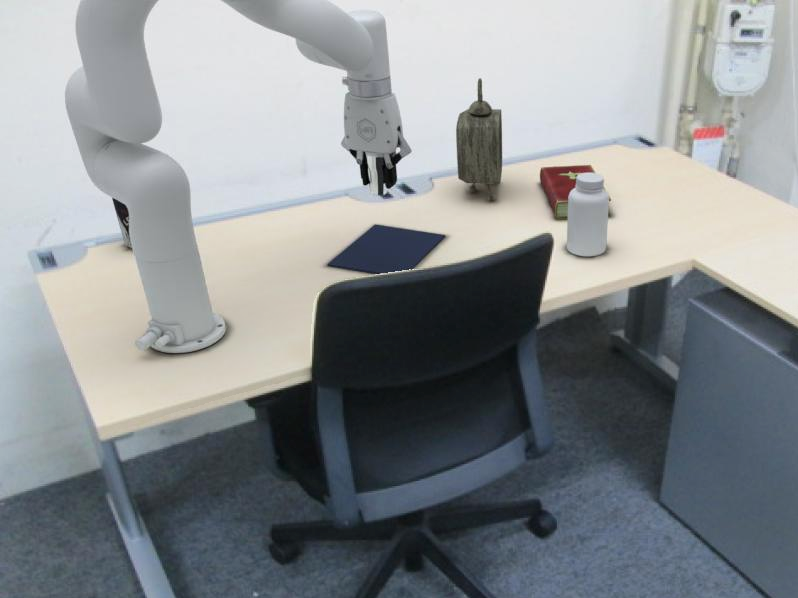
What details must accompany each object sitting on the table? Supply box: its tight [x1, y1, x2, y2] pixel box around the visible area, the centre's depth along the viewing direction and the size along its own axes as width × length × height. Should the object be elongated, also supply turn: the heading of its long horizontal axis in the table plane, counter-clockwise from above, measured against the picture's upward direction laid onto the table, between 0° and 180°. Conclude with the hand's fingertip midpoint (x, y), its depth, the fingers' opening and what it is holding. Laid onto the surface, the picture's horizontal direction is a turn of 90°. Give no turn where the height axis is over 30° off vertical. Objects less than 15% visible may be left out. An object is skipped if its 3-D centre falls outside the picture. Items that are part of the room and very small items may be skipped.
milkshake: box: [365, 152, 388, 197], centre depth 169 cm, size 4×5×10 cm
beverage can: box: [111, 197, 132, 249], centre depth 177 cm, size 6×6×12 cm
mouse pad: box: [326, 224, 446, 275], centre depth 179 cm, size 20×16×1 cm
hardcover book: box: [539, 164, 612, 221], centre depth 201 cm, size 12×21×4 cm, turn 9°
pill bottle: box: [566, 172, 610, 257], centre depth 176 cm, size 8×8×15 cm
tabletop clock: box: [455, 77, 503, 202], centre depth 198 cm, size 14×9×25 cm, turn 179°
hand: (379, 183), depth 171 cm, fingers closed on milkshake, 4 cm apart
